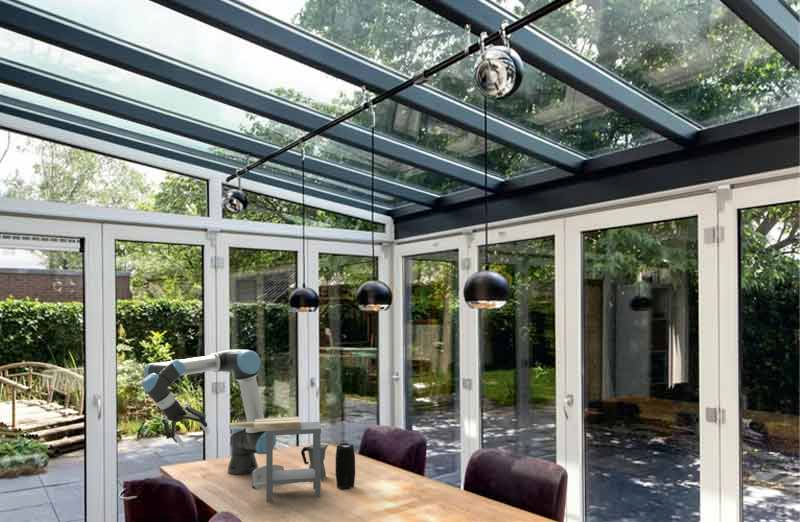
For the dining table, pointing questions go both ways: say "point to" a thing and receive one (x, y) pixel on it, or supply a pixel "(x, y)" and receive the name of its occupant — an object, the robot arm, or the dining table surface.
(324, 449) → the coffeepot
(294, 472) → the side table
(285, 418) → the cutting board
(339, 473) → the portable speaker
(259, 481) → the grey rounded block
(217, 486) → the dining table surface
